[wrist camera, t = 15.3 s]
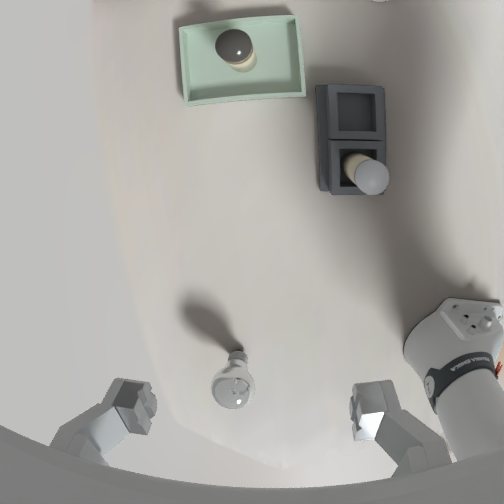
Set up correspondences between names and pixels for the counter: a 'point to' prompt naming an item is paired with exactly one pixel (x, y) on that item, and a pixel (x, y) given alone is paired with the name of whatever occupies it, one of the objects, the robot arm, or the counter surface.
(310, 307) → the counter surface
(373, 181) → the fuse
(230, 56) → the fuse
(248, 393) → the light bulb
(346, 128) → the fuse block
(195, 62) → the parts tray
